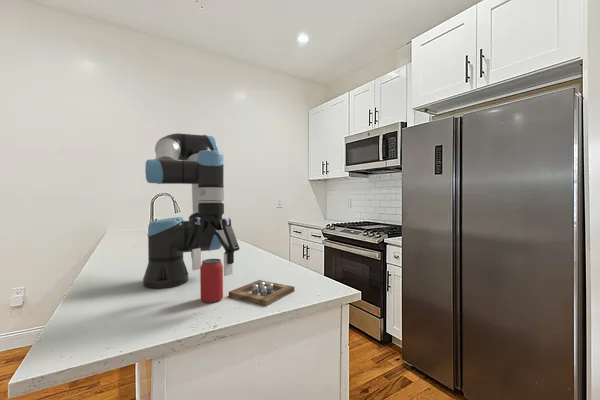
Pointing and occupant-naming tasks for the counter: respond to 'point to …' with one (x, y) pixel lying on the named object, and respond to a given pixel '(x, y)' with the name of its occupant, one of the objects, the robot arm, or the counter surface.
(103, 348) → the counter surface
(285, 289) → the face frame
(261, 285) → the peg stand
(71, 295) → the counter surface
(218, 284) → the beer can
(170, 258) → the robot arm
